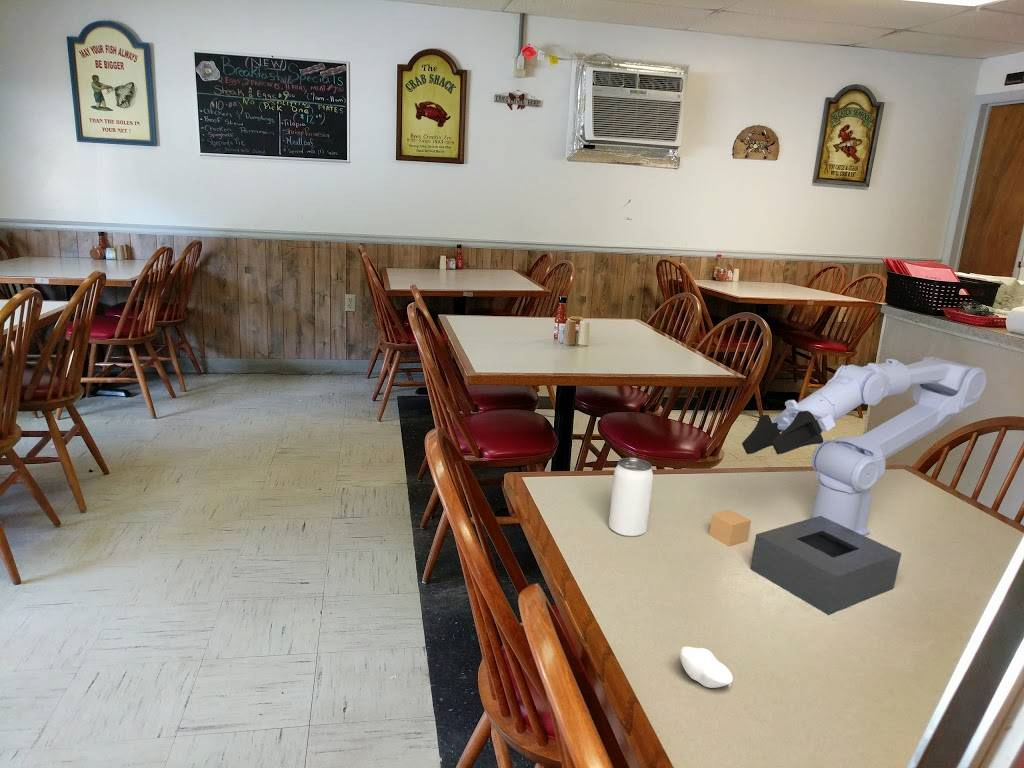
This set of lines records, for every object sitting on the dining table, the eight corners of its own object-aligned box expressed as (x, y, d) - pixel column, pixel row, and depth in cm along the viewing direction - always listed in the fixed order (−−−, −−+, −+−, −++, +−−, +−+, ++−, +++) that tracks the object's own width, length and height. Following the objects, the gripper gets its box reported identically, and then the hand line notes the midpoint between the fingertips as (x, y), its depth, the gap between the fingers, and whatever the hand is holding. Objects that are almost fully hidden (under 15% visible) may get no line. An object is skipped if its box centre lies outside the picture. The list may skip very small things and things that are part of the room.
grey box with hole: (814, 548, 122) (820, 515, 120) (893, 588, 111) (901, 553, 109) (750, 568, 114) (756, 534, 112) (828, 615, 102) (836, 577, 101)
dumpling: (666, 675, 87) (670, 647, 86) (689, 658, 91) (693, 630, 90) (718, 706, 83) (723, 676, 81) (740, 687, 86) (745, 658, 85)
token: (727, 530, 127) (730, 509, 126) (747, 541, 123) (751, 520, 122) (708, 535, 124) (712, 514, 123) (729, 547, 121) (732, 525, 120)
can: (645, 540, 121) (654, 473, 118) (606, 534, 122) (614, 468, 119) (646, 523, 127) (654, 459, 124) (609, 518, 128) (616, 454, 125)
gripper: (781, 391, 126) (722, 427, 122) (842, 383, 112) (778, 424, 108) (799, 427, 126) (741, 464, 122) (862, 423, 112) (798, 466, 108)
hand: (759, 448), depth 115 cm, fingers open, 7 cm apart
